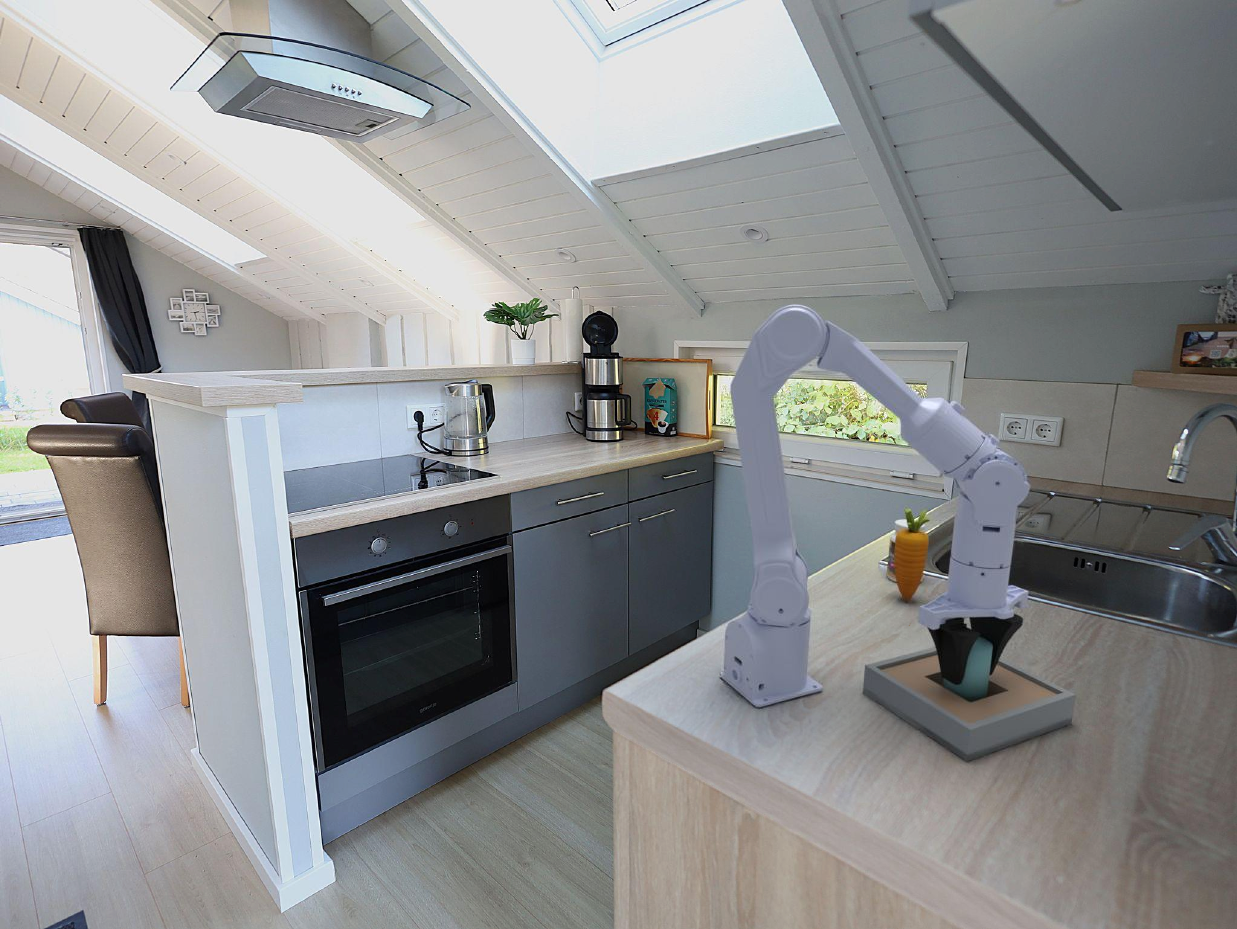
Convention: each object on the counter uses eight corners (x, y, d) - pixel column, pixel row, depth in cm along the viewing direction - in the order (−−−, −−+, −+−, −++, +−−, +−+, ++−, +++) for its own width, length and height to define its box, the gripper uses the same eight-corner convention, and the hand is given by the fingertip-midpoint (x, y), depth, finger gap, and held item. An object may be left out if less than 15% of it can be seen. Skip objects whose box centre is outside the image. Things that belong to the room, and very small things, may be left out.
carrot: (917, 595, 108) (926, 504, 105) (928, 607, 103) (938, 513, 100) (885, 593, 108) (893, 503, 105) (894, 606, 103) (903, 512, 100)
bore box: (966, 761, 66) (970, 729, 66) (862, 692, 79) (865, 665, 78) (1071, 723, 73) (1075, 694, 72) (959, 665, 85) (962, 639, 85)
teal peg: (966, 705, 73) (972, 654, 71) (933, 685, 77) (939, 636, 75) (995, 697, 74) (1002, 647, 73) (962, 678, 78) (968, 630, 77)
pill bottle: (879, 574, 116) (884, 519, 114) (908, 572, 118) (913, 517, 116) (900, 586, 111) (905, 529, 109) (930, 583, 112) (936, 526, 110)
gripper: (964, 582, 66) (950, 708, 69) (1061, 562, 72) (1044, 679, 74) (907, 560, 72) (896, 676, 75) (1000, 543, 78) (987, 651, 81)
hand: (966, 675), depth 75 cm, fingers closed on teal peg, 4 cm apart
